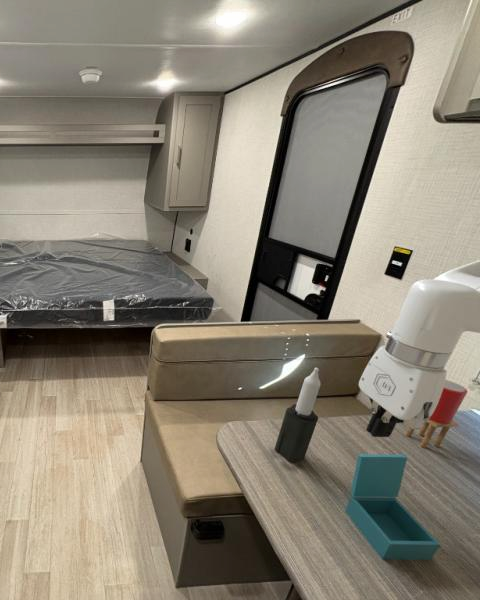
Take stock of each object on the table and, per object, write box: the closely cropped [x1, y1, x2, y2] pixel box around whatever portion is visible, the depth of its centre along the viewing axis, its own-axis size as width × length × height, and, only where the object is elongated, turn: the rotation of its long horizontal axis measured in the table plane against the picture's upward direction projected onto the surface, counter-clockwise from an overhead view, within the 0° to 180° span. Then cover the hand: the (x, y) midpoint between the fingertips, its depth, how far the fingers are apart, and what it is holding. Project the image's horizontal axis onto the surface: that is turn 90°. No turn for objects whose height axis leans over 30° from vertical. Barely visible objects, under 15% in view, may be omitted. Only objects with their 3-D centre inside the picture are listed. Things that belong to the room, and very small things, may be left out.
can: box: [429, 379, 468, 424], centre depth 77 cm, size 6×6×9 cm
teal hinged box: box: [344, 496, 441, 560], centre depth 59 cm, size 9×9×5 cm
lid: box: [350, 453, 408, 498], centre depth 61 cm, size 9×9×1 cm
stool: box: [405, 419, 460, 449], centre depth 80 cm, size 6×6×8 cm
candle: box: [274, 367, 321, 465], centre depth 73 cm, size 5×5×25 cm
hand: (377, 433), depth 61 cm, fingers closed
